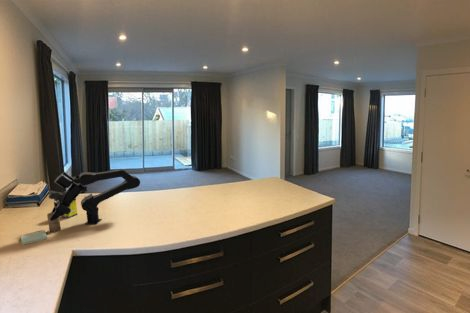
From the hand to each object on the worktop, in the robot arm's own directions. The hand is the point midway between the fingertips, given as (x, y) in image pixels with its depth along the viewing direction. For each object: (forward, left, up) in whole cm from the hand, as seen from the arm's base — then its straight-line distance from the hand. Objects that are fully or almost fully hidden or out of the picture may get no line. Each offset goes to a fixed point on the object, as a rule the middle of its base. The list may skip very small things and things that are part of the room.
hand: (50, 218), depth 156 cm
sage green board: (+8, -4, -7) cm, 11 cm away
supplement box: (-22, -3, -7) cm, 23 cm away
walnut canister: (-1, +1, -7) cm, 7 cm away
